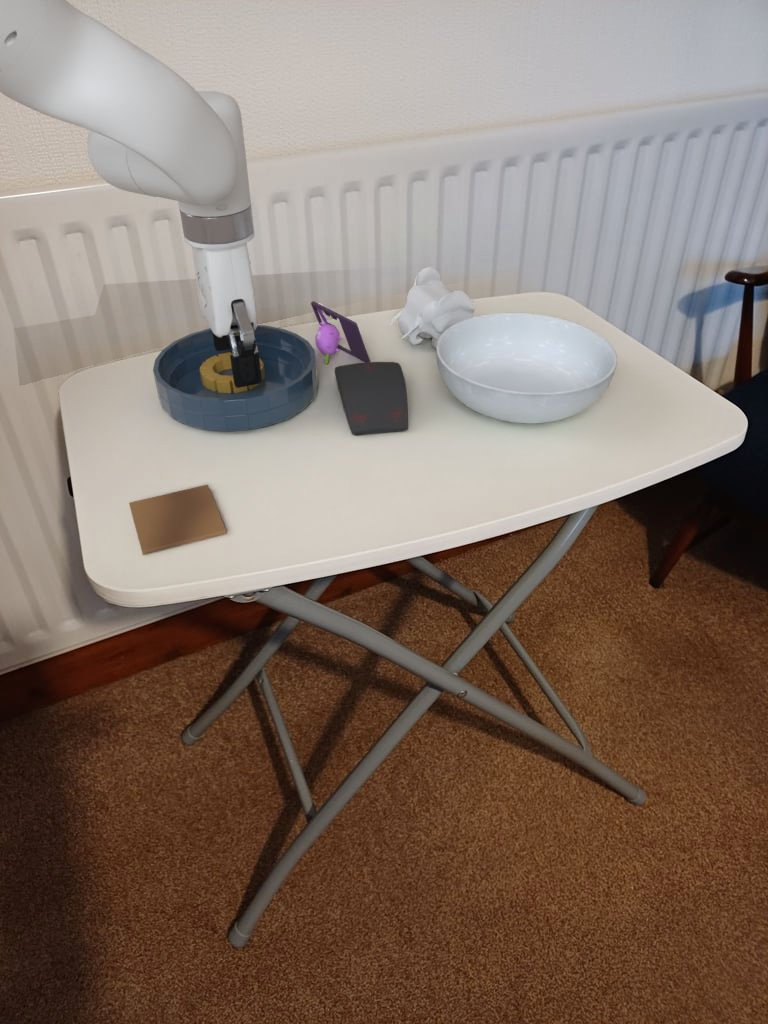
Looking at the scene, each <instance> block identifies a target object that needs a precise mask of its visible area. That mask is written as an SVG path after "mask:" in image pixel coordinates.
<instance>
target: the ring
mask: <svg viewBox="0 0 768 1024" xmlns="http://www.w3.org/2000/svg"><path fill="white" fill-rule="evenodd" d="M230 355H233V354H232V353H231V352H228V353H223V354H218V356H216V355H215V356H213V357H211V358H209V359H207V360H206V362H203V363H202V365H201V367H200V376H201V381H202V383H203V385H204V386H206V388H207V389H210V390H212V391H214V392H216V391H218V393H232V391H233V392H234V393H238V392H243V391H248V389H253V388H254V387H256V386H258V385H260V383H259V384H254V385H250V386H245V387H240V388H237V387H236V386H235V385H234V380H233V376H226V375H220V374H218V373H220V372H222V371H223V370H228V369H232V366H231V359H230ZM259 360H260V368H261V376H262V381H263V379H264V377H265V371H264V363H263V362H262V360H261V359H260V358H259ZM261 383H262V382H261Z"/></svg>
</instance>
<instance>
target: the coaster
mask: <svg viewBox="0 0 768 1024" xmlns="http://www.w3.org/2000/svg"><path fill="white" fill-rule="evenodd" d="M128 504H129V509H130V512H131V517H132V519H133V523H134V528H135V530H136V534H137V539H138V542H139V545H140V550H141V554H142V556H145V555H148V554H153V553H156V552H160V551H165V550H168V549H172V548H176V547H180V546H184V545H188V544H192V543H197V542H200V541H204V540H208V539H211V538H216V537H219V536H223V535H226V534H227V529H226V527H225V524H224V521H223V519H222V516H221V514H220V511H219V509H218V506H217V504H216V502H215V499H214V497H213V494H212V492H211V489H210V487H209V485H208V484H204V485H199V486H195V487H191V488H187V489H182V490H178V491H174V492H169V493H165V494H161V495H156V496H152V497H147V498H143V499H139V500H135V501H130V502H128Z"/></svg>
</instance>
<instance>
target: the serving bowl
mask: <svg viewBox="0 0 768 1024" xmlns="http://www.w3.org/2000/svg"><path fill="white" fill-rule="evenodd" d="M435 355H436V364H437V368H438V372H439V374H440V377H441V379H442V382H443V384H444V385H445V386H446V388H447V389H448V390H449V392H450V393H451V394H452V396H453V397H454V398H455V399H457V400H458V401H459V402H460V403H461V404H463V405H464V406H466V407H468V408H469V409H471V410H473V411H475V412H477V413H479V414H482V415H483V416H486V417H489V418H492V419H496V420H500V421H504V422H510V423H518V424H542V423H543V424H544V423H551V422H556V421H560V420H561V421H562V420H564V419H568V418H570V417H573V416H575V415H577V414H579V413H582V412H583V411H585V410H587V409H588V408H590V407H591V406H592V405H594V404H595V403H596V402H597V401H598V400H599V399H600V398H601V397H602V395H603V394H604V393H605V392H606V391H607V389H608V388H609V386H610V384H611V382H612V380H613V378H614V376H615V373H616V370H617V367H618V363H619V362H618V355H617V352H616V350H615V348H614V347H613V345H612V344H611V343H610V341H608V340H607V339H606V338H604V337H603V336H602V335H601V334H599V333H597V332H596V331H595V330H593V329H591V328H589V327H587V326H585V325H581V324H579V323H577V322H574V321H571V320H568V319H565V318H561V317H557V316H552V315H547V314H542V313H541V314H540V313H533V312H532V313H531V312H515V311H514V312H511V311H510V312H493V313H487V314H486V313H485V314H481V315H476V316H472V318H468V319H466V320H463V321H460V322H458V323H456V324H454V325H452V326H451V327H449V328H448V329H447V330H445V331H444V332H443V333H442V334H441V336H440V337H439V339H438V341H437V344H436V348H435Z"/></svg>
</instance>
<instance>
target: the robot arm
mask: <svg viewBox="0 0 768 1024" xmlns="http://www.w3.org/2000/svg"><path fill="white" fill-rule="evenodd" d="M0 93H1V94H2V95H3V96H5V97H7V98H9V99H11V100H13V101H14V102H16V103H18V104H21V105H22V106H25V107H27V108H29V109H31V110H33V111H35V112H38V113H40V114H43V115H44V116H47V117H50V118H53V119H56V120H59V121H62V122H64V123H68V124H70V125H74V126H77V127H80V128H83V129H86V130H89V132H88V136H87V142H86V149H87V155H88V158H89V161H90V164H91V166H92V168H93V169H94V171H95V172H96V174H97V175H98V177H100V178H101V179H102V180H103V181H105V182H106V183H107V184H109V185H111V186H113V187H115V188H117V189H119V190H122V191H126V192H129V193H133V194H139V195H143V196H147V197H148V196H149V197H153V198H160V199H161V198H162V199H165V200H166V199H167V200H171V201H176V202H178V208H179V209H178V210H179V214H180V221H181V227H182V233H183V238H184V242H185V243H186V244H187V245H188V246H190V247H192V257H193V258H192V259H193V266H194V275H195V282H196V291H197V298H198V305H199V308H200V311H201V313H202V315H203V318H204V319H205V321H206V323H207V324H208V326H209V328H211V330H212V334H213V340H214V347H215V349H216V350H217V351H221V350H227V349H231V350H232V354H233V355H230V359H231V366H232V373H233V380H234V385H235V386H236V387H237V388H240V387H245V386H250V385H254V384H259V383H261V382H262V376H261V368H260V360H259V352H258V348H257V344H256V340H255V336H254V331H255V330H256V328H257V325H258V311H257V303H256V295H255V287H254V281H253V273H252V269H251V268H252V267H251V260H250V255H249V249H248V244H247V243H249V242H251V241H252V240H253V239H254V238H255V227H254V217H253V207H252V202H251V191H250V181H249V172H248V164H247V155H246V146H245V144H246V143H245V137H244V128H243V127H244V126H243V120H242V119H243V118H242V112H241V108H240V105H239V104H238V101H237V100H236V99H235V98H234V97H233V96H231V95H229V94H227V93H224V92H219V91H213V90H212V91H207V90H206V91H205V90H204V91H203V90H201V91H197V90H196V89H195V88H194V87H193V86H192V85H191V84H190V83H189V82H188V81H187V80H185V79H184V78H183V76H181V75H180V74H178V73H177V72H176V71H175V70H173V69H172V68H171V67H169V66H168V65H167V64H165V63H164V62H162V61H161V60H159V59H158V58H157V57H155V56H154V55H152V54H150V53H149V52H147V51H146V50H144V49H142V48H141V47H139V46H137V45H136V44H134V43H133V42H131V41H130V40H128V39H126V38H125V37H123V36H122V35H120V34H118V32H115V31H114V29H112V28H110V27H108V26H106V25H105V24H104V23H102V22H100V21H99V20H97V19H95V18H94V17H92V16H90V15H88V14H86V12H83V11H82V10H81V9H78V8H77V7H75V6H74V5H73V4H71V3H70V2H69V1H68V0H0ZM239 335H240V336H239ZM240 338H241V340H240Z"/></svg>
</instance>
